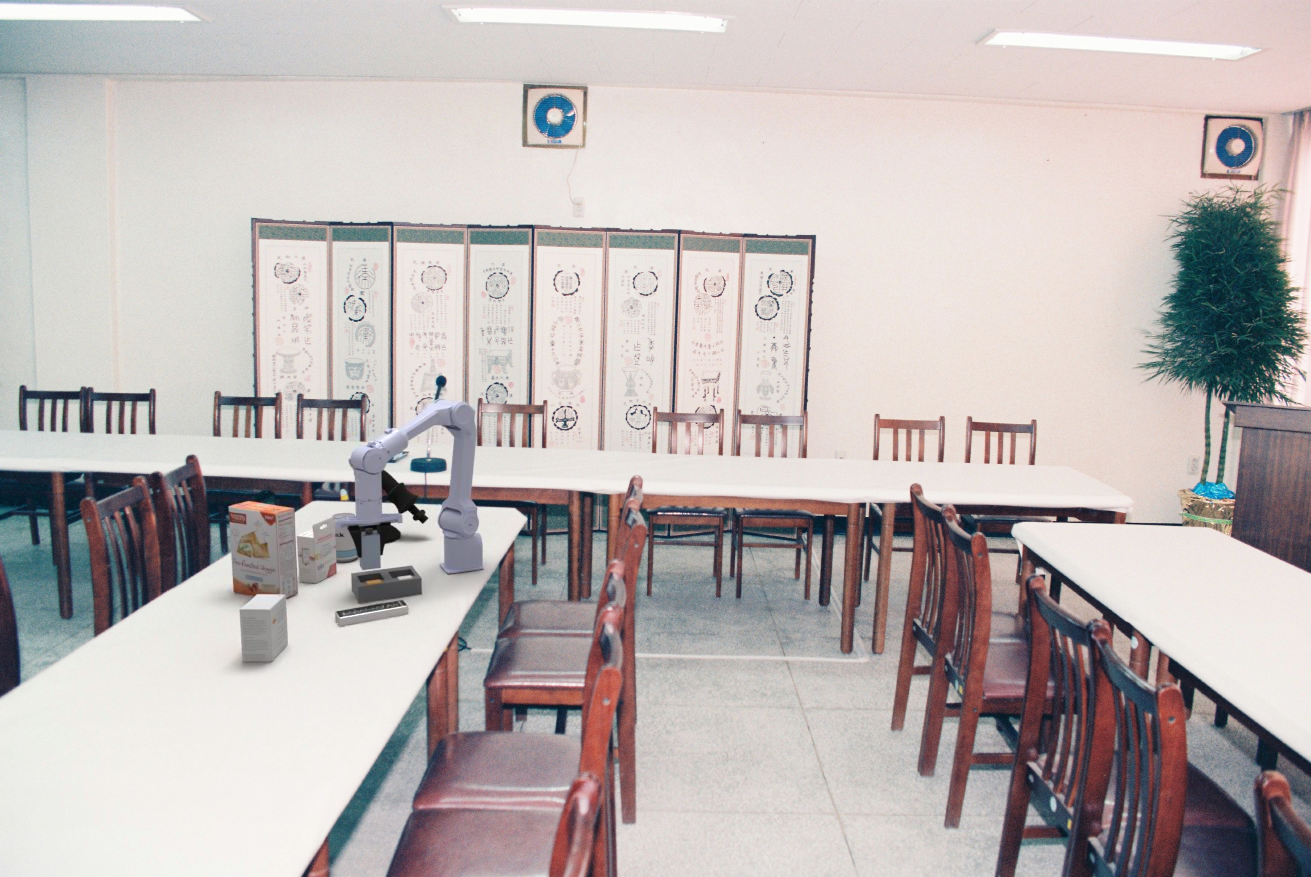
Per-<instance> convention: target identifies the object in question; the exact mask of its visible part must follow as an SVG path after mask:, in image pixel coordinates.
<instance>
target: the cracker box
mask: <svg viewBox="0 0 1311 877" xmlns="http://www.w3.org/2000/svg"><path fill="white" fill-rule="evenodd" d="M295 516H296V515H295V508H294V507H290V506H289V507H287V506H281V505H280V506H279V505H275V504H268V503H264V502H263V503H262V502H257V501H250V500H248V501H244V502H240V503H235V504H232V505H229V506H228V519H229V520H228V521H229V522H228V523H229V533H230V534H229V536H230V537H229V539H230V556H231V557H230V558H231V568H232V569H231V572H232V573H231V574H232V575H231V576H232V586H233V587H232V588H233V589H232V590H233V592H234V593H237V594H241V595H246V596H251V597H255V596H256V595H257V594H280V595H286V600H287V599H290V598H291V597H294V596H296V595H299V588H298V587H299V584H298V583H299V581H298V580H299V579H298V565H297V564H298V557H297V536H296V517H295Z"/></svg>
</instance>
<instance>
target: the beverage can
mask: <svg viewBox="0 0 1311 877" xmlns="http://www.w3.org/2000/svg"><path fill="white" fill-rule="evenodd" d="M352 516H356V513H352V512H341V513H340V512H339V513H336V514H333V515H332V516H331V517H333V519H334V527H335V519H341V518H347V517H352ZM335 540H336V561H337V562H336V563H348V562H349V563H350V562H352V561H354V560H355V559H356V558H358V556H357V551H356V547H355V544H354V541H353V539H352V537H351V535H350V533H349V531H348V529H347V528H341V529H336V528H335Z"/></svg>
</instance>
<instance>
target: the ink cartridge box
mask: <svg viewBox="0 0 1311 877" xmlns="http://www.w3.org/2000/svg"><path fill="white" fill-rule="evenodd" d="M325 525H326V526H325ZM323 526H324V527H323ZM296 550H297V564H298V565H297V568H298V580H299V581H298V583H307V584H308V583H309V584H318V583H321V582H322V581H324V580H326V579H327V578H330V577H332V576H333V575H335V574H337V569H338V568H337V562H336V540H335V527H334V519H333V517H332V516H331V517H329V518H326V519H324V520H321V521H319V522H317V523H314V524H312V529H311V530H308V531H305V532H303V533H300V534H298V535H297V536H296Z"/></svg>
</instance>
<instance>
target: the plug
mask: <svg viewBox="0 0 1311 877" xmlns="http://www.w3.org/2000/svg"><path fill="white" fill-rule="evenodd" d="M361 550H362V558H358V559H359V567H360V568H361V570H362V571H370V570H378V569H381V568H382V566H381V565H382V564H381V559H382V558H381V556H380V534H379V533H378V531H377V530H376V531H373V529H372V528H368V529H365V532H361Z"/></svg>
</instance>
